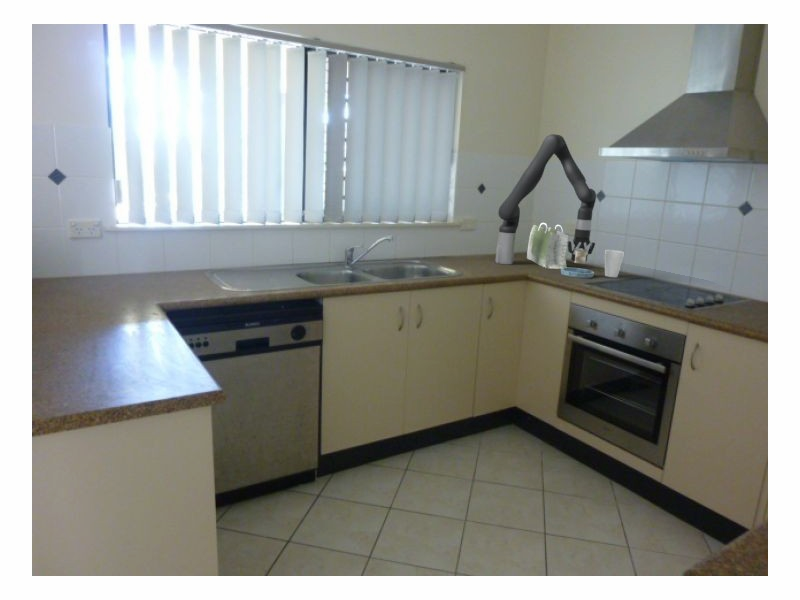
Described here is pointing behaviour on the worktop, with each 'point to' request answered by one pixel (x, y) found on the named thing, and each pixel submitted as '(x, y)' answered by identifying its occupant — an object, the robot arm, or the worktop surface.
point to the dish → (577, 272)
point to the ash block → (580, 256)
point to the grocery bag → (547, 247)
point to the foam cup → (613, 262)
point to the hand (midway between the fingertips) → (578, 261)
